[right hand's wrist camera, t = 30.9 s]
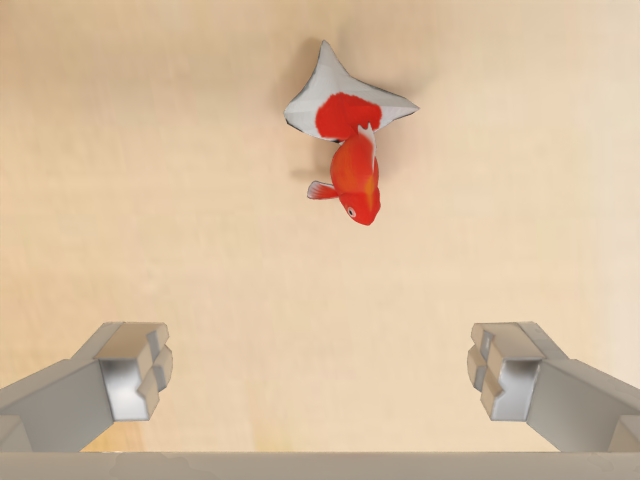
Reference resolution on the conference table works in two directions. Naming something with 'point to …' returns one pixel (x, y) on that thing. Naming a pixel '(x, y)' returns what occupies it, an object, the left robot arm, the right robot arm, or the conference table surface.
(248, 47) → the conference table surface
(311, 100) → the fish
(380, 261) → the conference table surface
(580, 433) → the right robot arm
